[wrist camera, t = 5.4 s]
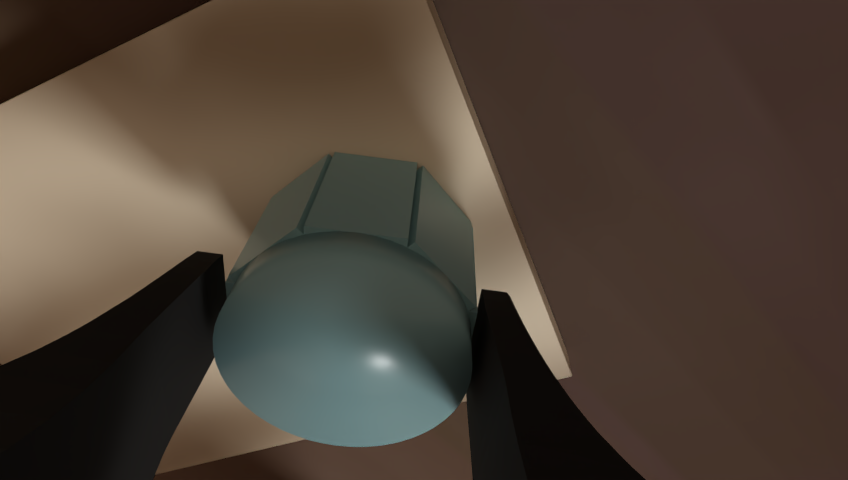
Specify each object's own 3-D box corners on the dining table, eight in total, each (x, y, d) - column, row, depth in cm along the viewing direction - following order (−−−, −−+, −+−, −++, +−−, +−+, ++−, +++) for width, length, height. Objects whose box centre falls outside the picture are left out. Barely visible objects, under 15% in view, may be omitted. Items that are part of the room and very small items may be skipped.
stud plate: (566, 349, 19) (589, 457, 16) (146, 454, 24) (91, 556, 20) (397, -92, 12) (372, -76, 9) (-149, 177, 17) (-310, 258, 13)
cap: (483, 171, 14) (495, 279, 10) (452, 330, 17) (452, 458, 14) (266, 143, 14) (199, 243, 10) (273, 309, 17) (223, 433, 13)
